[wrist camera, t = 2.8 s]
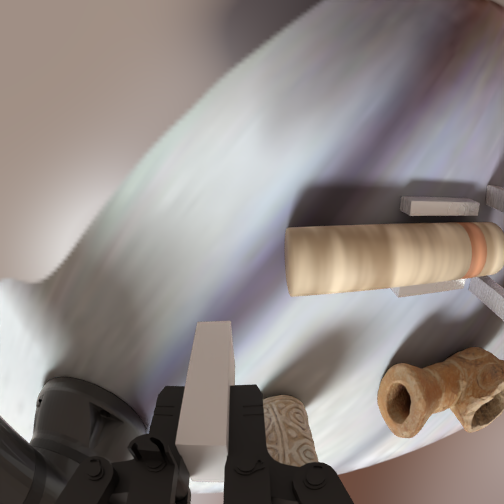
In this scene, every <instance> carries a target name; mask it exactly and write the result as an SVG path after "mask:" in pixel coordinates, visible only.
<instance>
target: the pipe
mask: <svg viewBox="0 0 504 504" xmlns="http://www.w3.org/2000/svg"><path fill="white" fill-rule="evenodd" d="M377 400H378V406H379V409H380V412H381V414H382V417H383V418H384V420H385V422H386V424H387V426H388V427H389V428H390V430H391V431H392V432H393V433H394V434H395V435H396V436H398V437H402V438H412V437H414V436H415V435H416V434H417V433H418V432H419V431H420V430H421V429H422V427H423V426H424V424H425V423H426V421H427V420H428V418H429V417H430V416H431V415H432V414H434V413H438V412H441V411H444V410H446V409H448V408H450V409H451V410H452V412H453V413H454V414H455V416H456V417H457V419H458V420H459V421H460V423H461V424H462V426H463V427H464V429H465V431H467V432H469V433H471V432H475V431H479V430H480V429H482V428H484V427H486V426H487V425H489V424H491V422H492V421H493V420H494V419H495V418H496V417H497V416H499V415H501V413H502V412H503V410H504V360H499V359H498V358H497V357H496V356H494V355H493V354H492V353H490V352H488V351H486V350H484V349H482V348H480V347H470V348H467V349H465V350H463V351H460V352H457V353H455V354H454V355H452V356H450V357H449V358H447V359H446V360H445V361H444V362H439V363H435V364H433V365H430V366H427V367H424V368H422V369H421V368H418V367H416V366H412V365H410V364H406V363H400V364H396V365H394V366H392V367H391V368H390V369H388V371H387V372H386V374H385V375H384V377H383V378H382V380H381V383H380V387H379V390H378V397H377Z"/></svg>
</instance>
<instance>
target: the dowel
mask: <svg viewBox="0 0 504 504" xmlns="http://www.w3.org/2000/svg"><path fill="white" fill-rule="evenodd" d="M503 266H504V233H503V231H502V230H501V228H500V227H499V226H498V225H497V224H495V223H492V222H455V223H403V224H368V225H339V226H313V227H290V228H287V229H286V233H285V270H286V279H287V286H288V291H289V294H290V296H291V297H294V296H307V295H320V294H332V293H343V292H354V291H365V290H375V289H384V288H394V287H403V286H411V285H420V284H428V283H436V282H444V281H451V280H459V279H466V278H473V277H480V276H486V275H493V274H496V273H498V272H499V271H500V270H501V269H502V267H503Z"/></svg>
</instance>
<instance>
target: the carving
mask: <svg viewBox="0 0 504 504" xmlns="http://www.w3.org/2000/svg"><path fill="white" fill-rule="evenodd" d="M263 408H264V420H265V433H266V446H267V450H268V453H269V454H270V456H271V457H272V458H273V459H274V460H276V461H278V462H280V463H283V464H286V465H291V466H297V467H301V466H303V465H305V464H306V463H311V462H318V458H317V454H316V452H315V446H314V441H313V439H312V434H311V430H310V428H309V424H308V416H307V412H306V410H305V407H304V405H303V403H302V402H301V401H299V400H298V399H297V398H295V397H292V396H288V395H278V396H273V397H268V398H266V399H263Z"/></svg>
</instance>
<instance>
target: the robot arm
mask: <svg viewBox="0 0 504 504" xmlns="http://www.w3.org/2000/svg"><path fill="white" fill-rule="evenodd" d="M36 406H37V408H36V413H35V420H34V430H33V437H32V439H31V442H30V444H29V443H28V442H27V441H26V440H25V439H24V438H23V437H21V436H20V435H19V434H18V433H17V432H16V431H15V430H14V429H13V428H12V427H11V426H10V425H9V424H8V423H7V422H6V421H5V420H4V419H3V418H2V417H1V416H0V504H190V501H191V492H190V488H189V477H190V478H191V480H192V481H196V482H224V504H354V503H353V501H352V499H351V498H350V496H349V494H348V492H347V491H346V489H345V487H344V486H343V484H342V482H341V480H340V479H339V477H338V475H337V473H336V472H335V471H334V469H333V468H332V467H331V466H329V465H327V464H325V463H320V462H311V463H306V464H305V465H303V466H301V467H297V466H291V465H286V464H283V463H280V462H278V461H276V460H274V459H273V458H272V457H271V456H270V454H269V453H268V450H267V446H266V433H265V420H264V408H263V395H262V393H261V391H260V390H259V388H258V387H257V385H235V360H234V350H233V340H232V329H231V321H215V322H197V327H196V332H195V337H194V342H193V347H192V352H191V357H190V363H189V368H188V373H187V379H186V384H185V386H165V388H164V389H163V390H162V391H161V392H160V394H159V395H158V398H157V402H156V408H155V410H154V416H153V418H152V422H151V426H150V431H149V434H146V430H145V426H144V424H143V422H142V420H141V419H140V417H139V416H138V415H137V414H136V413H135V412H134V410H133V409H131V408H130V407H129V406H128V405H127V404H126V403H125V402H123V401H122V400H121V399H119V398H118V397H116V396H115V395H113V394H111V393H110V392H108V391H106V390H104V389H102V388H100V387H98V386H96V385H94V384H91V383H88V382H86V381H82V380H79V379H75V378H68V377H58V378H53V379H51V380H49V381H48V382H47V383H46V384H45V385H44V387H43V389H42V390H41V392H40V394H39V396H38V399H37V405H36Z"/></svg>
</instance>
